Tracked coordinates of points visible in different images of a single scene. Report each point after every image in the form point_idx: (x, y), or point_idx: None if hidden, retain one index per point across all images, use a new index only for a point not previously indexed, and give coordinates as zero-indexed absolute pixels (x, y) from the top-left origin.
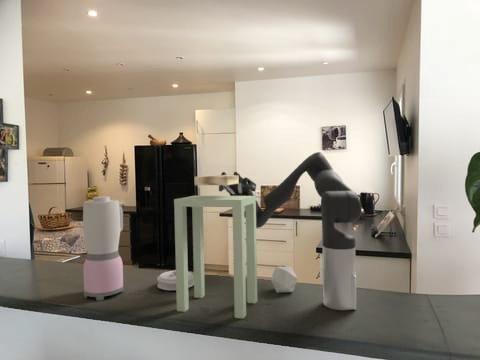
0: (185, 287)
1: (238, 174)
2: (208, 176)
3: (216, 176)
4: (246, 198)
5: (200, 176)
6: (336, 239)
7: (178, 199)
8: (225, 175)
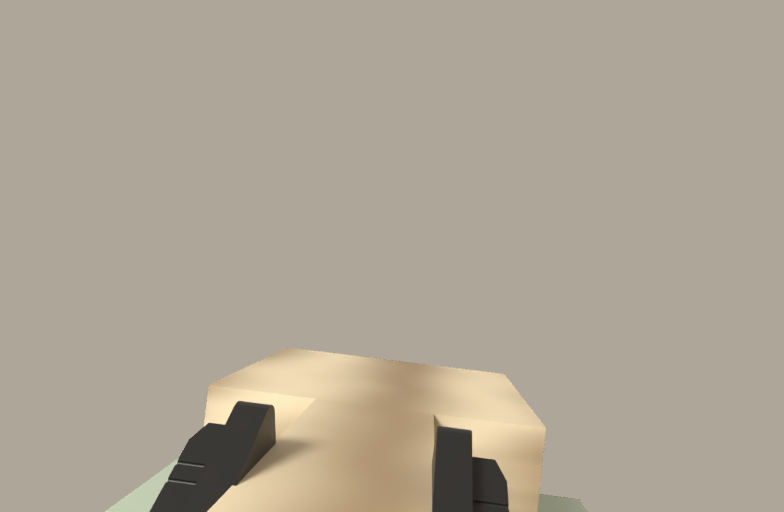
0: None
1: (199, 443)
2: (410, 363)
3: (355, 356)
4: (151, 478)
5: (481, 376)
6: None
7: (552, 496)
8: (345, 399)
